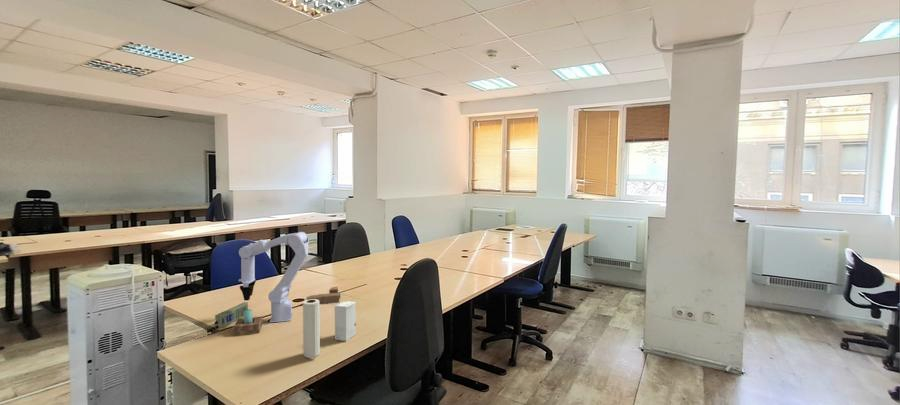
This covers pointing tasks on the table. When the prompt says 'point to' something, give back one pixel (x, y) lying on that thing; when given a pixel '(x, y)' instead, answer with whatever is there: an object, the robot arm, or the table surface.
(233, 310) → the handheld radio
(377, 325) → the table surface
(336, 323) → the skincare box
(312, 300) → the paper towel roll
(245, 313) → the peg
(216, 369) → the table surface
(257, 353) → the table surface
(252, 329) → the socket block
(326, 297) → the wooden block set
